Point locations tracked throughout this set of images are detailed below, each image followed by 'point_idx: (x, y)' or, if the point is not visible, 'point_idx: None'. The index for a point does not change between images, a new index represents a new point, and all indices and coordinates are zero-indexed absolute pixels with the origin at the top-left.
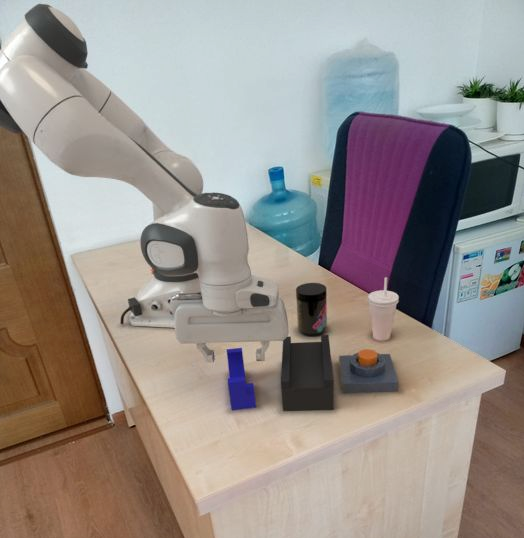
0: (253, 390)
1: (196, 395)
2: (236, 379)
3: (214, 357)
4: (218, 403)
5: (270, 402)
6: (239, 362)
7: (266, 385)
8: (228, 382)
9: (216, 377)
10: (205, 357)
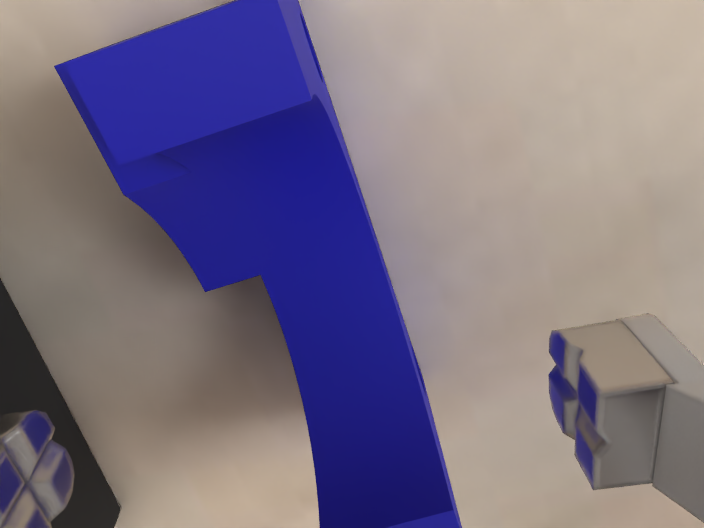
0: (94, 125)
1: (613, 140)
2: (189, 90)
3: (557, 404)
4: (424, 63)
5: (29, 130)
6: (342, 446)
7: (146, 312)
8: (270, 6)
9: (506, 347)
10: (684, 355)
